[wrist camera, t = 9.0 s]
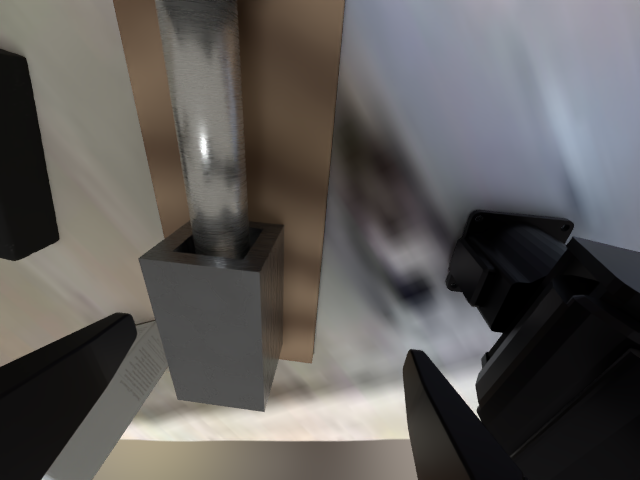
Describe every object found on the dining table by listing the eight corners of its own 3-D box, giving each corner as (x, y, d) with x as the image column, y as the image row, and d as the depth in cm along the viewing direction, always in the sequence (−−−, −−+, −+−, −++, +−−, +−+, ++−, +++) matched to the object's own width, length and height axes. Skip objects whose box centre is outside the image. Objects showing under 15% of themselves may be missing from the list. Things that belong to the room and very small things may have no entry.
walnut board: (313, 354, 26) (311, 363, 25) (193, 338, 27) (188, 347, 26) (371, -292, 10) (373, -330, 9) (66, -296, 11) (40, -332, 10)
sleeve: (282, 344, 24) (264, 411, 19) (214, 335, 25) (177, 399, 19) (284, 224, 19) (259, 272, 14) (196, 215, 19) (138, 258, 14)
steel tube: (273, 264, 20) (251, 312, 15) (208, 256, 20) (167, 301, 16) (270, -194, 10) (208, -430, 6) (146, -198, 11) (-9, -429, 6)
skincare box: (137, 358, 29) (15, 506, 18) (111, 330, 27) (-39, 474, 17) (183, 348, 28) (79, 503, 17) (158, 318, 26) (27, 468, 15)
